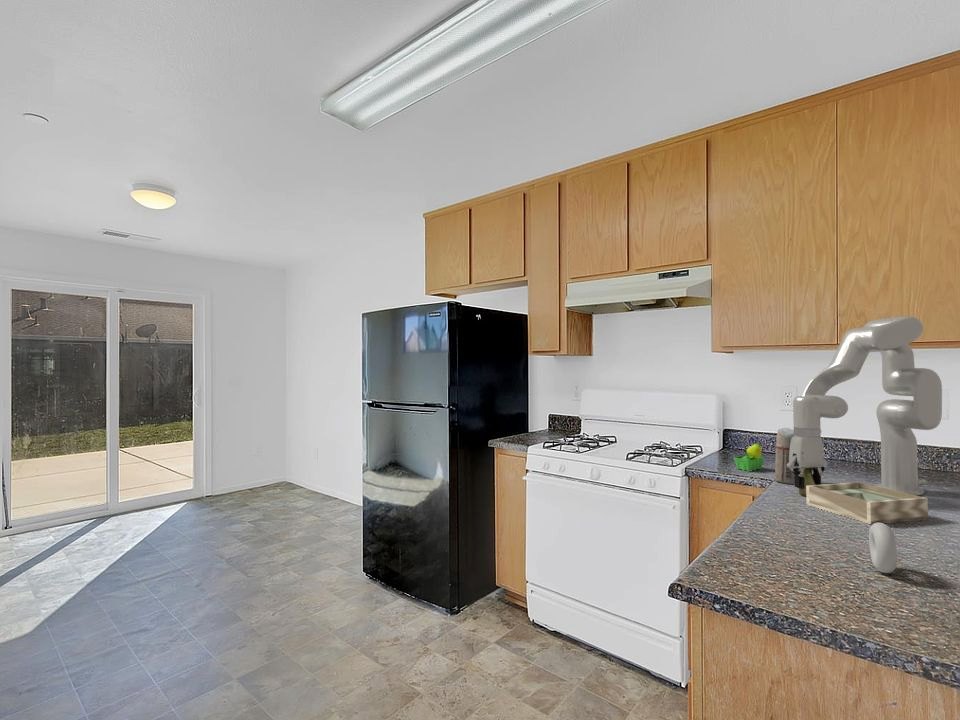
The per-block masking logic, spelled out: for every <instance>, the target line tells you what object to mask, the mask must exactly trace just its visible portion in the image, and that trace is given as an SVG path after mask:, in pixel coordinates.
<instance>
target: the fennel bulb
mask: <svg viewBox="0 0 960 720" xmlns="http://www.w3.org/2000/svg"><path fill="white" fill-rule="evenodd" d="M812 474H813V473H812V468H805V469H804V473H803V476H802V477H804V489H800V488H798V494H799V495H801V496H802V497H803V496H804V497H806V486H809V485H815V482H814V480H813V477H812Z"/></svg>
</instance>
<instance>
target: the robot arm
mask: <svg viewBox="0 0 960 720" xmlns="http://www.w3.org/2000/svg"><path fill="white" fill-rule="evenodd" d="M923 332H924V326H923V323H922V321H921V320H920V319H918V318H917V317H915V316H911V315H910V316H906V315H905V316H897V317H896V316H895V317H886V318H878V319H873V320H870V321H868V322H865V324H864V325H863V327H855V328H851V329H849V330H847V331H846V332H845V334H844V335H843V336H842V339H841V341H840V343H839V344H838V347H837V349H836V351H835V354H834V355H833V358H832V360H831V362H830V364H829V365H828V366H827V367H826V368H824V369H823V370H822V371H820V372H819V373H818V374H817V375H815V376H814V377H813V378H812V379H811V380H810V381H809V383H807V385H806V387H805V389H804V391H803V393H802V395H800V396H799V395H798V396H794V398H793V403H792V408H793V410H792V413H793V416H792V417H793V418H792V419H793V430H794V437H792V439H791V443H790V451H789V463H788V464H787V467H788V468H789V469H790V470H791V472H792V473H793V475H795V484H794V488H797V489H799V488H800V489H804V477H802V476H803V473H804V469H805V468H812V477H813V480H814V482H815V485H822V476H823V475H824V474H823V473H824V471H825V469H826V468H827V467H828V466H829V465H828V464H829V463H828V462H827V460H826V459H825V450H824V449H825V448H824V443H823V439H822V435H821V434H822V430H821V418H825V419H840V418H842V417H844V416H845V415H846V414H848V411H849V405H848V403H847V401H846V400H845V399H843V398H842V397H839V396H836V395H826V394H827V392H828V391H830V390H831V389H832V388H833V387H835V386H837V385H839V384H841V383H844V382H847V381H849V380H852V379H854V378H857V377H858V376H859V374H860V372H861V370H862V368H863V366H864V364H865V361H866V360H867V357H868V356H869V354H870V353H876V352H878V353H880V355H881V363H882V364H881V371H882V372H881V373H882V376H881V385H882V388H883V391H884V392H885V393H886V394H888V395H891V396H899V397H901V396H902V397H903V396H904V397H913V400H910V399H898V398H895V399H894V398H892V399H886V400H883V401H882V402H880V403H879V404H878V406H877V407H876V417H877V422H878V426H879V432H880V469H881V472H880V473H881V475H880V476H881V477H880V478H881V483H877V484H875V486H876V487H881V488H885V489H889V490H894V491H898V492H902V493H907V494H911V495H916V496H923V495H924V494H925V491H924V489H922V488H921V487H920V486H927V485H928V481H927V480H926V479H919V476H918V475H919V473H918V440H917V438H916V435H915V433H914V432H913V430H920V431H921V430H922V431H930V430H934V429H937V427H938V426H939V425H940V424H941V420H942V414H943V385H942V381H941V377H940V376H939V374H938V373H937V372H936V371H934V370H933V369H930V368H926V367H915V355H914V352H913V349H912V348H911V346H910V345H909V344H911V343H913V342H915V341H917V340H918V339H919V338H920V337H921V336H922V334H923ZM912 429H913V430H912ZM794 466H795V467H794ZM798 469H800V471H798Z"/></svg>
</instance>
